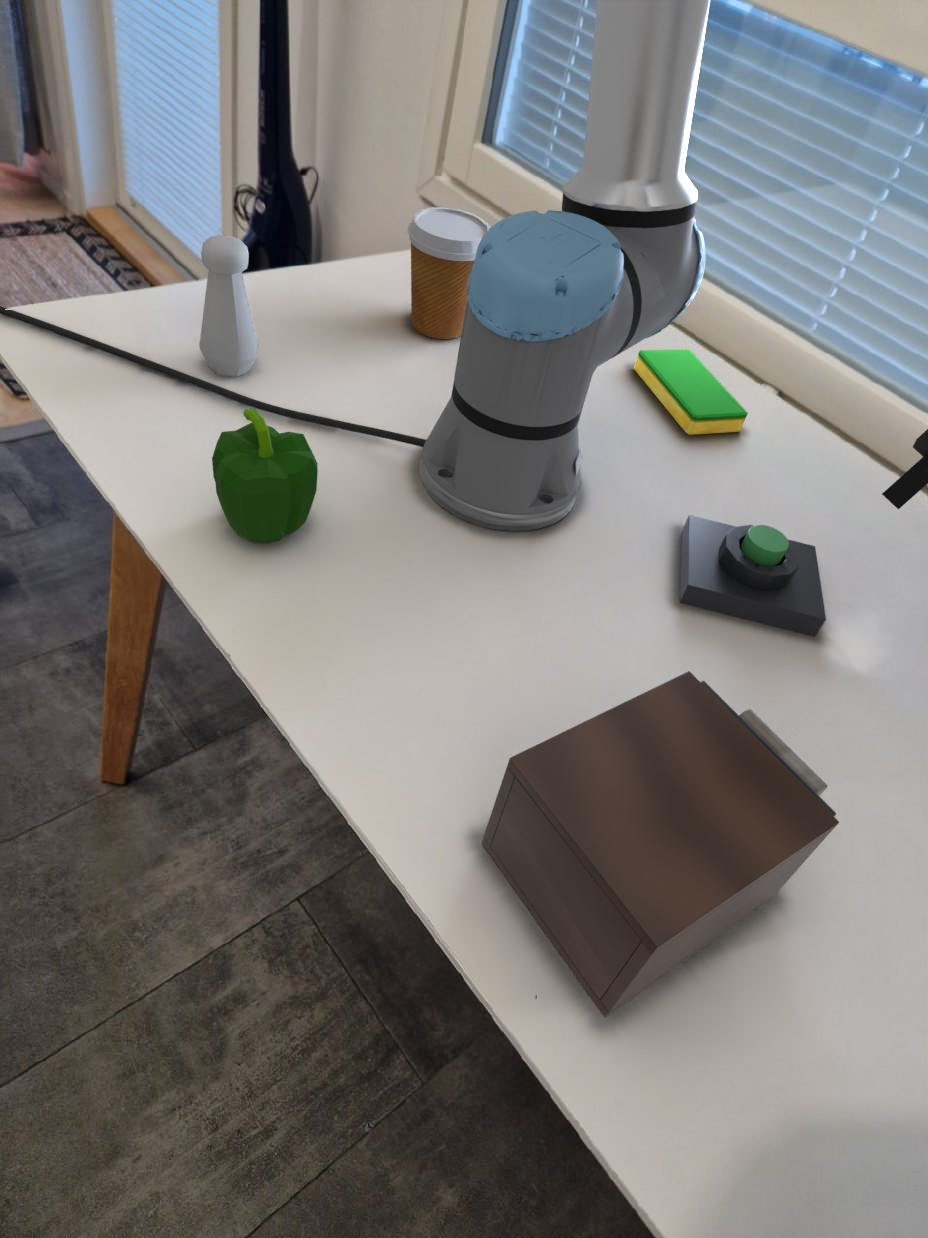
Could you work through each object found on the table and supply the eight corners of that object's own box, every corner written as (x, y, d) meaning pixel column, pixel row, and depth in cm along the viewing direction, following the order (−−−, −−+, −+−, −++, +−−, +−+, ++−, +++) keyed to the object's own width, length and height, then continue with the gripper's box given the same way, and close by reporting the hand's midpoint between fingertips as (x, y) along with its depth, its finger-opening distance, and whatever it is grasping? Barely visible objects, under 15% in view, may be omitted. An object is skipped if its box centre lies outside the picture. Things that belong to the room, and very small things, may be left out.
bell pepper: (323, 552, 72) (329, 454, 65) (221, 560, 70) (216, 458, 63) (306, 489, 78) (310, 392, 71) (211, 494, 75) (205, 394, 68)
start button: (741, 561, 75) (749, 546, 73) (739, 535, 77) (747, 520, 76) (782, 571, 75) (790, 556, 73) (779, 545, 77) (787, 530, 76)
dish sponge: (683, 366, 105) (689, 348, 103) (741, 432, 97) (750, 413, 95) (631, 367, 103) (638, 349, 101) (687, 435, 94) (694, 416, 92)
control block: (679, 603, 75) (695, 569, 72) (681, 532, 82) (695, 499, 79) (815, 637, 75) (836, 604, 72) (805, 563, 82) (824, 531, 79)
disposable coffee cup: (477, 352, 100) (496, 248, 91) (394, 339, 99) (406, 234, 90) (477, 313, 106) (495, 213, 98) (400, 301, 105) (411, 199, 97)
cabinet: (644, 756, 63) (689, 670, 56) (771, 899, 56) (839, 822, 49) (480, 843, 56) (509, 757, 49) (604, 1018, 49) (657, 947, 42)
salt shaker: (270, 367, 91) (270, 244, 81) (232, 388, 87) (227, 261, 78) (228, 345, 92) (223, 222, 83) (188, 365, 89) (178, 238, 79)
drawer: (705, 727, 64) (745, 658, 59) (822, 849, 59) (879, 785, 53) (517, 828, 56) (543, 759, 50) (631, 982, 50) (676, 923, 45)
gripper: (1304, 285, 51) (962, 564, 61) (1124, 151, 54) (826, 438, 64) (1360, 257, 44) (966, 574, 55) (1151, 105, 47) (814, 433, 58)
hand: (891, 501), depth 59 cm, fingers closed
